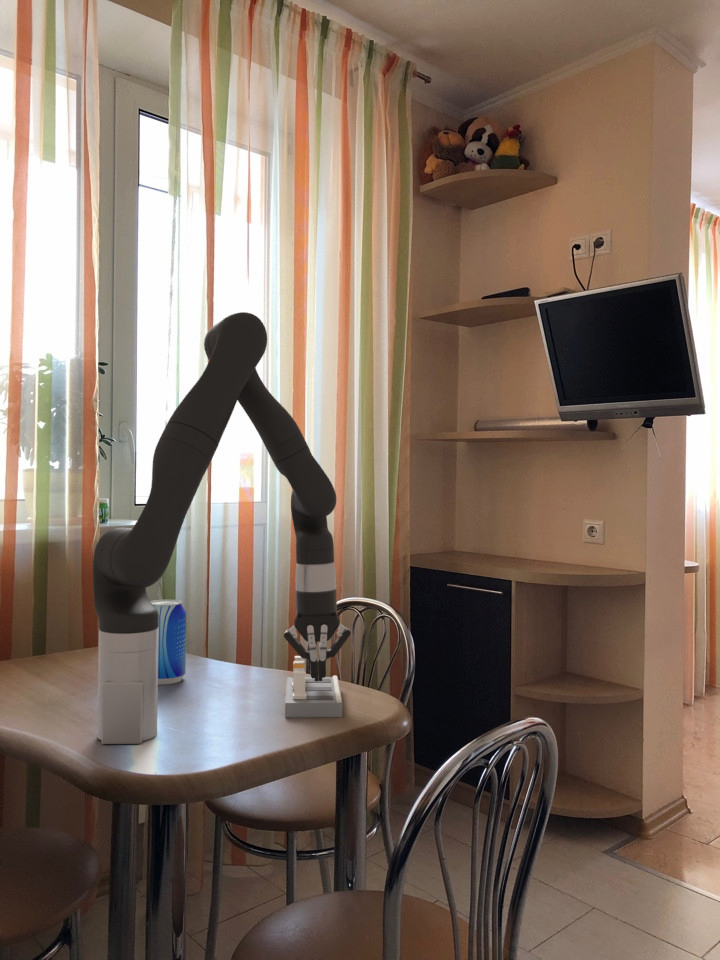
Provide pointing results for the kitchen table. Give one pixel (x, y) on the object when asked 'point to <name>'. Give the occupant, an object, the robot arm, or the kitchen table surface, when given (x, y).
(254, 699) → the kitchen table surface
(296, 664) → the breaker toggle
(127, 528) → the robot arm
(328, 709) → the breaker panel
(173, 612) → the beer can
